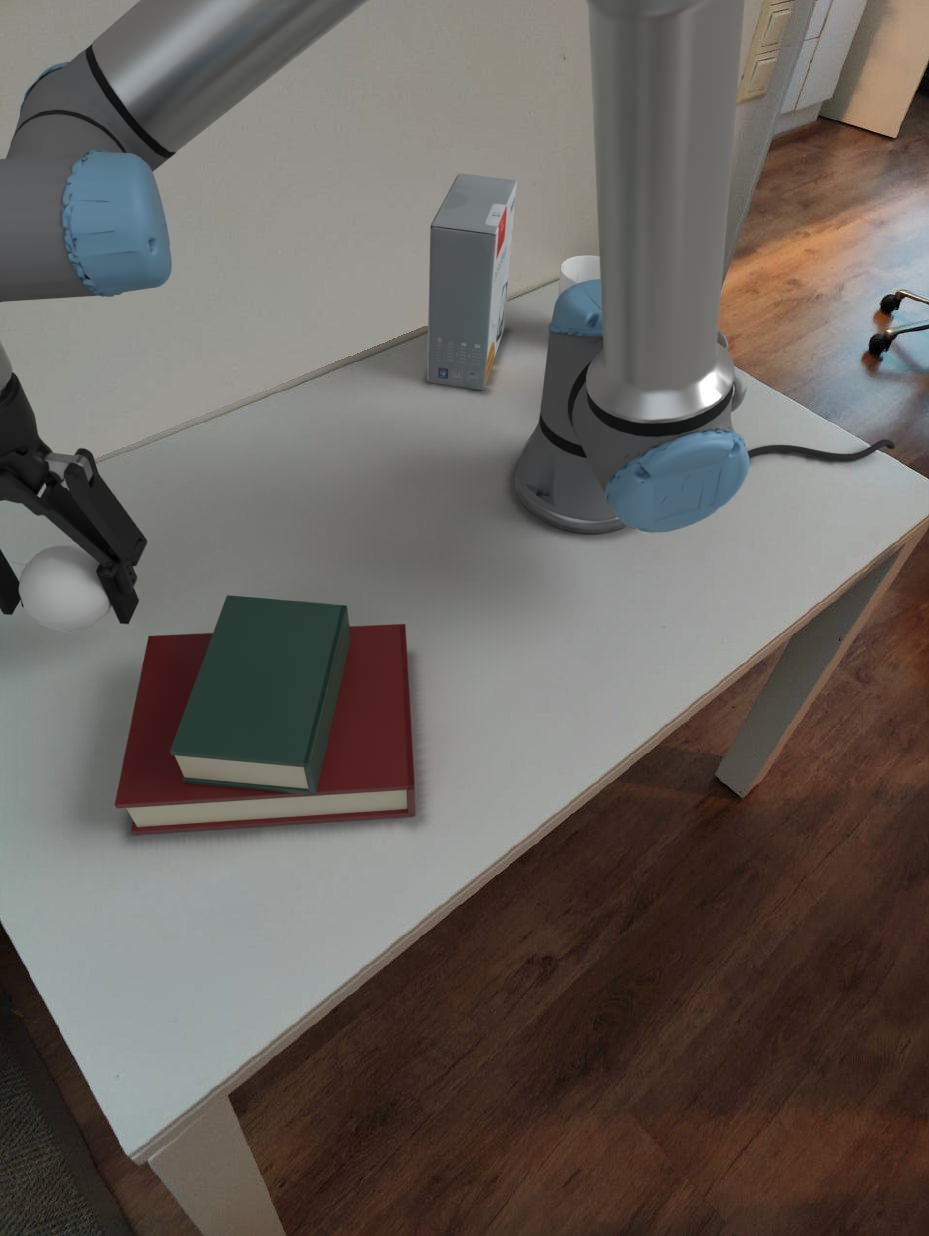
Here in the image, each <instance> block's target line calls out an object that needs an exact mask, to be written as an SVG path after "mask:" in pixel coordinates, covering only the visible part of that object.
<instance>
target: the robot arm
mask: <svg viewBox="0 0 929 1236" xmlns="http://www.w3.org/2000/svg"><path fill="white" fill-rule="evenodd" d="M368 1H369V0H138V2H137V3H135V4H134V5H133V6H132V7H131V8H130V9H129V10H127V11H126V12H124V14H123V15H121V16H120V17H119V18H118V19H117V20H116V21H114V22H113V23H112V24H111V25H110V26H109V27H108V28H107V29H105V30H104V31H103V32H102V33H101V34H100V35H99V36H97V37H96V38H95V39H94V40H93V41H92V43H91V44H90V45H89V46H87V48H85V49H84V50H82V51H80V52H79V53H78V54H77V55H76V56H75V57H73V59H71V60H70V61H64V62H60V63H56V64H53V65H51V66H50V67H48V68H46V69H45V70H44V71H43V72H41V73H40V75H39V76H38V77H37V78H36V79H35V80H34V82H33V83H32V84H30V86H29V87H28V89H26V91H25V93H24V96H23V101H22V103H21V104H20V109H19V118H18V119H17V120H18V121H17V124H16V127H15V130H14V133H13V136H12V138H11V139H12V140H11V141H10V146H9V148H8V151H7V154H6V156H5V158H0V303H5V302H18V301H19V302H20V301H36V300H37V301H39V300H52V299H54V300H55V299H68V298H69V299H70V298H84V297H102V298H103V297H106V298H111V297H114V296H120V295H122V294H124V293H128V292H129V293H130V292H135V291H142V290H149V289H155V288H160V287H162V286H163V285H164V284H165V283H167V281H168V280H169V278H170V277H171V274H172V267H173V261H172V260H173V259H172V252H171V247H170V245H171V241H170V236H169V229H168V224H167V219H166V214H165V209H164V207H163V202H162V197H161V194H160V190H159V186H158V183H157V181H156V178H155V175H154V172H155V171H156V170H157V169H159V168H160V167H161V166H162V165H164V163H166V162H167V161H168V160H170V159H171V158H172V157H173V156H175V155H176V154H177V152H178V151H180V150H181V149H182V148H183V147H185V146H186V145H187V144H188V143H190V142H191V141H192V140H193V139H195V138H196V137H197V136H199V135H200V134H201V133H202V132H204V131H205V130H206V129H207V128H209V127H210V126H212V125H213V124H214V123H215V122H217V121H218V120H219V119H220V118H221V117H223V116H225V114H227V113H228V112H229V111H230V110H232V109H233V108H234V107H235V106H237V105H238V104H239V103H241V102H242V101H243V100H244V99H246V98H247V97H248V96H250V94H252V93H253V92H254V91H255V90H257V89H258V88H260V87H261V86H262V85H264V84H265V83H266V82H267V81H268V80H269V79H271V78H272V77H274V75H276V74H278V72H280V71H281V70H283V68H285V67H286V66H287V65H289V64H290V63H291V62H292V61H294V60H295V59H296V58H297V57H299V56H300V55H301V54H303V53H304V52H305V51H306V50H308V49H309V48H310V47H311V46H313V45H314V44H315V43H316V42H318V41H319V40H320V39H322V38H323V37H324V36H325V35H327V34H328V33H329V32H330V31H331V30H333V29H334V28H335V27H337V26H338V25H339V24H340V23H341V22H343V21H344V20H345V19H347V18H348V17H350V16H351V15H352V14H353V13H355V12H356V11H357V10H358V9H360V8H361V7H362V6H363V5H365V4H366V3H367V2H368ZM584 1H585V3H586V4H587V7H588V29H589V30H588V31H589V51H590V54H589V55H590V73H591V74H590V75H591V96H592V119H593V121H592V122H593V141H594V142H593V143H594V163H595V166H594V167H595V168H594V169H595V185H596V186H595V187H596V209H597V210H596V211H597V213H596V214H597V234H598V257H599V259H600V279H596V280H589V281H585V282H581V283H578V284H575V285H573V286H571V287H570V288H568V289H566V290H565V291H564V292H562V293H561V294H560V295H559V297H558V296H557V298H556V300H555V303H554V308H553V312H552V316H551V319H550V322H549V324H548V329H549V337H548V343H547V351H546V360H545V367H544V368H545V369H544V376H543V377H544V378H543V386H542V394H541V401H540V411H539V418H538V422H537V424H536V426H535V428H534V429H533V432H532V433H531V435H530V436H529V438H528V439H527V441H526V442H525V445H524V446H523V447H522V449H521V453H520V456H519V457H518V459H517V463H516V469H515V476H514V477H515V479H514V487H515V492H516V494H517V497H518V499H519V500H520V502H521V504H522V505H523V506H524V507H525V508H526V510H527V511H529V513H531V514H532V515H533V516H535V517H536V518H537V519H539V520H541V521H542V522H544V523H546V524H548V525H550V526H552V527H555V528H558V529H561V530H564V531H567V532H572V533H573V532H574V533H578V534H579V533H580V534H604V533H610V532H611V533H612V532H614V531H615V532H616V531H619V530H622V529H625V528H626V527H629V528H630V529H634V530H638V531H640V532H645V533H652V534H653V533H667V532H672V531H677V530H680V529H684V528H686V527H690V526H692V525H694V524H697V523H698V522H701V521H702V520H704V519H706V518H708V517H710V516H712V515H713V514H715V513H716V512H717V511H718V510H719V509H721V507H724V506H725V505H727V503H729V502H730V501H731V499H733V497H735V496H736V494H737V493H738V492H739V490H740V489H742V488H741V487H742V486H743V484H744V482H745V481H746V480H747V479H746V478H747V476H748V474H749V470H750V458H752V457H756V456H759V455H762V454H767V453H780V452H781V453H783V452H784V453H794V454H799V455H806V456H810V457H814V458H819V459H825V460H831V461H843V462H846V461H849V462H850V461H856V460H857V461H858V460H861V459H863V458H865V457H868V456H871V454H874V453H875V452H877V451H878V450H880V449H882V448H884V447H886V448H887V449H889V450H894V449H895V448H896V444H895V443H894V442H893V441H892V440H890V439H887V438H885V439H880V440H879V441H877V442H875V443H874V444H872V445H870V446H869V447H867V448H864V449H863V450H861V451H858V452H852V453H837V452H829V451H824V450H818V449H814V448H810V447H805V446H799V445H790V444H770V445H763V446H758V447H755V448H752V449H748V450H747V448H746V442H745V440H744V438H743V437H742V436H741V434H739V433H738V432H736V431H735V429H734V427H733V423H732V412H731V407H732V397H733V395H734V376H735V369H734V367H735V363H734V359H733V358H732V356H731V354H730V353H729V352H728V350H727V351H726V350H725V348H724V347H722V346H721V345H720V344H719V343H717V336H718V330H719V325H720V324H719V323H720V313H721V312H720V311H721V298H722V287H723V286H722V285H723V275H724V261H725V251H726V250H725V248H726V236H727V225H728V211H729V202H730V201H729V200H730V186H731V176H732V175H731V174H732V164H733V163H732V162H733V150H734V138H735V125H736V114H737V101H738V87H739V79H740V78H739V77H740V65H741V64H740V63H741V54H742V53H741V50H742V41H743V29H744V28H743V27H744V26H743V25H744V15H745V4H746V0H584ZM75 451H76V452H74V454H65V453H58V452H53V450H52V449H51V448H50V446H49V445H48V444H47V443H46V442H45V441H44V440H43V439H42V438H41V437H40V435H39V430H38V426H37V419H36V415H35V411H34V409H33V408H32V406H31V403H30V401H29V399H28V396H27V394H26V392H25V390H24V387H23V386H22V384H21V381H20V379H19V377H18V375H17V374H16V373H15V372H13V366H12V362H11V360H10V357H9V356H8V353H7V352H6V350H5V347H4V345H3V342H2V341H1V340H0V502H2V501H6V502H9V503H10V502H11V503H15V504H22V505H23V506H24V507H25V508H27V510H29V511H30V512H31V513H32V514H33V515H35V516H43V517H45V518H46V519H47V520H48V521H50V522H51V524H52V525H54V526H56V528H58V529H59V530H60V531H61V532H62V533H64V534H65V535H66V536H67V537H69V538H70V539H71V541H73V542H74V543H75V544H76V545H77V546H80V547H81V548H82V549H84V550H85V551H86V552H87V553H88V554H89V555H91V556H92V557H93V558H94V559H95V560H96V561H98V562H99V563H100V564H99V566H98V568H97V570H96V573H97V575H98V577H99V579H100V582H101V584H102V586H103V588H104V590H105V592H106V594H107V597H108V599H109V601H110V603H111V605H112V606H111V608H112V609H113V611H114V614H115V615H116V618H117V619H118V622H119V624H121V625H122V624H123V625H129V624H130V622H131V620H132V618H133V616H134V614H135V612H136V609H137V607H138V605H139V603H140V599H139V596H138V594H137V591H136V590H135V585H136V584H137V580H138V575H137V572H136V570H135V568H134V567H136V566H137V565H138V564H139V562H140V559H141V557H142V555H143V553H144V551H145V549H146V547H147V545H148V539H147V537H146V536H145V535H144V534H143V532H142V531H141V529H140V528H139V527H138V525H137V524H136V523H135V521H134V520H133V519H132V517H131V516H130V515H129V513H128V512H127V510H126V509H125V507H124V506H123V505H122V503H121V502H120V501H119V499H118V497H116V495H115V494H114V492H113V491H112V490H111V489H110V487H109V486H108V484H107V482H106V481H105V480H104V479H103V477H102V476H101V474H100V473H99V470H98V468H97V463H96V460H95V456H94V455H93V452H91V451H90V450H89V449H87V448H84V447H79V448H77V449H76V450H75ZM44 485H45V489H44V490H43V491H42V493H41V495H40V496H39V493H40V492H41V490H42V489H43V487H44ZM19 584H20V579H18V577H17V575H16V573H15V571H14V570H13V568H12V566H11V564H10V562H9V561H8V559H7V558H6V555H5V554H4V553H3V551H2V549H1V548H0V612H1V613H2V614H3V615H8V616H13V614H14V612H15V611H16V609H17V607H18V606H19V604H20V603H21V597H20V594H19Z"/></svg>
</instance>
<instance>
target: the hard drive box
mask: <svg viewBox="0 0 929 1236" xmlns="http://www.w3.org/2000/svg"><path fill="white" fill-rule="evenodd" d="M517 187H518V180H515V179H508V178H502V177H492V176H485V175H475V174H468V173H462V172H461V173H460V172H459V173H458V174H457V175H456V177H455V179H454V180H453V183H452V184H451V186H450V188H449V190H448V193H447V194H446V196H445V198H444V200H443V201H442V204H441V205H440V207H439V208H438V210H437V212H436V214H435V216H434V218H433V220H432V222H431V224H430V228H429V229H430V230H429V231H430V232H429V269H428V270H429V274H428V276H429V277H428V315H427V316H428V318H427V357H426V359H427V362H426V365H427V366H426V381H427V382H429V383H432V384H433V383H434V384H438V385H439V384H440V385H447V386H453V387H460V388H467V389H472V390H479V391H484V390H485V388H486V385H487V382H488V379H489V377H490V373H491V371H492V368H493V364H494V361H495V358H496V356H497V352H498V349H499V347H500V343H501V341H502V337H503V335H504V332H505V323H506V313H507V301H508V289H509V279H510V278H509V276H510V266H511V252H512V243H513V230H514V221H515V220H514V219H515V208H516V207H515V206H516V199H517V198H516V197H517Z"/></svg>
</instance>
